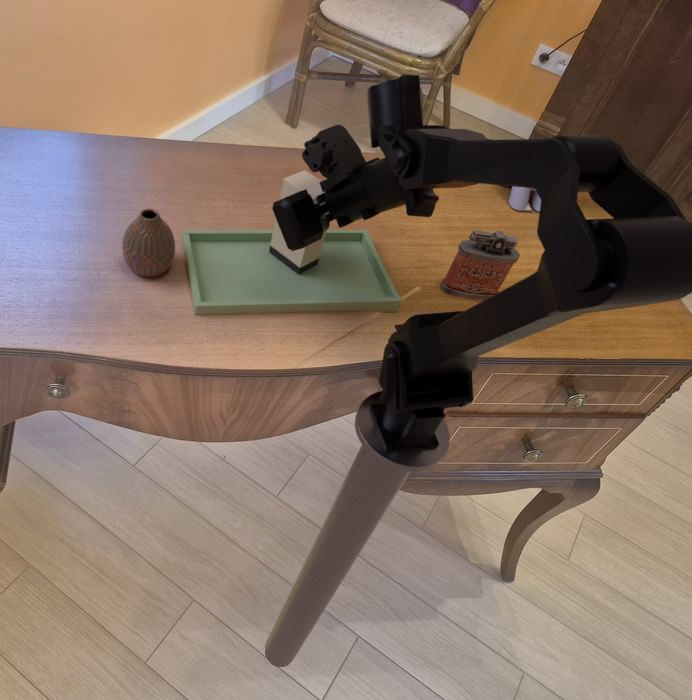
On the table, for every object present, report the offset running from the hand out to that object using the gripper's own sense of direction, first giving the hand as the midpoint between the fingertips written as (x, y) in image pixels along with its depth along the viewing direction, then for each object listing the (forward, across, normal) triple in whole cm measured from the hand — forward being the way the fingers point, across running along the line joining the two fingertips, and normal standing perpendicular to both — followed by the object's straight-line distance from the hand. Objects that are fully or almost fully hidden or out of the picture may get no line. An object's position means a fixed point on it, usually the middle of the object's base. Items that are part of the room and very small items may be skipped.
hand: (294, 217), depth 83 cm
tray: (+2, +3, +7) cm, 8 cm away
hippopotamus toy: (-4, -49, +14) cm, 51 cm away
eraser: (+3, 0, +5) cm, 6 cm away
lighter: (-10, -17, +19) cm, 27 cm away
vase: (+11, +18, -1) cm, 21 cm away
